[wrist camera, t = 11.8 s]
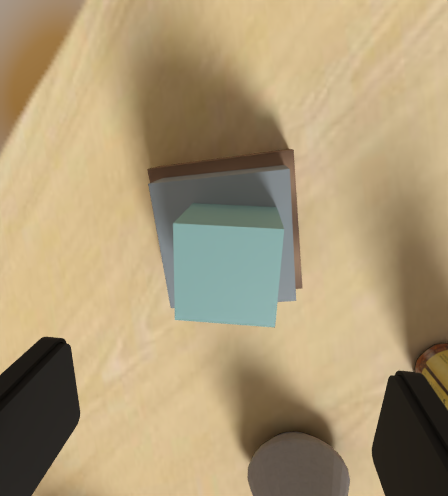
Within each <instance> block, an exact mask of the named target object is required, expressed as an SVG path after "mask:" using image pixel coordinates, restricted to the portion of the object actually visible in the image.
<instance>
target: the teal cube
mask: <svg viewBox="0 0 448 496" xmlns="http://www.w3.org/2000/svg"><path fill="white" fill-rule="evenodd" d="M283 237H284V227H283V224H282V221H281V218H280V215H279V212H278V209H277V207H263V206H242V205H221V204H200V203H193V204H192V205H191V206H190V207H189V208H188V209H187V210H186V211H185V212H184V213H183V214H182V215H181V216H180V217H179V218H178V219H177V220H176V221H175V222H174V223H173V248H174V298H175V320H184V321H197V322H210V323H224V324H237V325H250V326H263V327H275V322H276V311H277V301H278V290H279V280H280V269H281V259H282V248H283Z"/></svg>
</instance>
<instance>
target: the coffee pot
mask: <svg viewBox="0 0 448 496" xmlns="http://www.w3.org/2000/svg"><path fill="white" fill-rule="evenodd" d="M248 482H249V486H250V489H251V492H252V494H253V496H348V490H349V484H350V478H349V473H348V468H347V466H346V465H345V463H344V461H343V459H342V458H341V456H340V455H339V454H338V453H337V452H336V451H335V450H334V449H333V448H332V447H331V446H330V445H329V444H327V443H325V442H324V441H322V440H320V439H318V438H316V437H313V436H311V435H309V434H305V433H302V432H285V433H282V434H279V435H277V436H275V437H273V438H272V439H270V440H268V441H267V442H265V443H264V444H262V445H261V446H260V447H259V449H258V450H257V451H256V452H255V454H254V456H253V457H252V460H251V462H250V464H249V467H248Z"/></svg>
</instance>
